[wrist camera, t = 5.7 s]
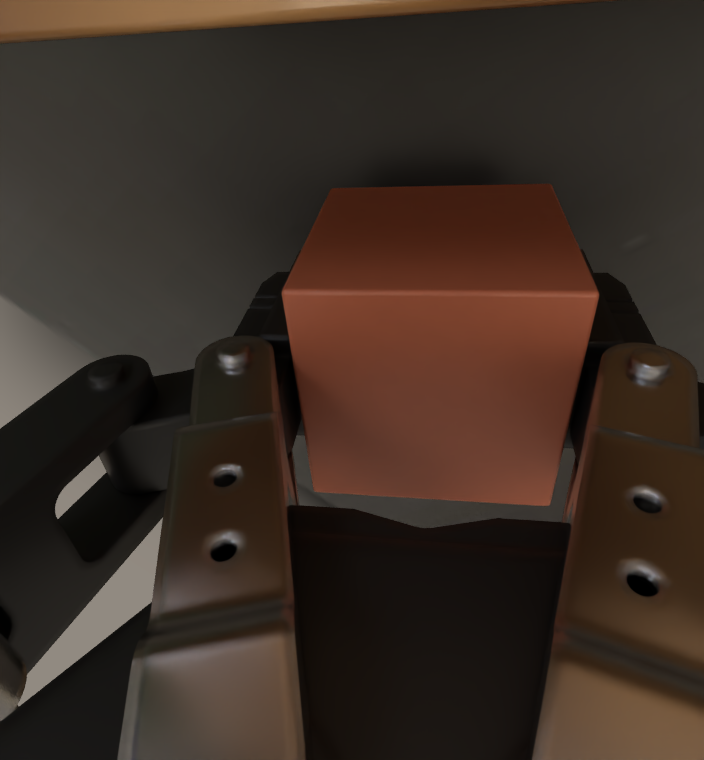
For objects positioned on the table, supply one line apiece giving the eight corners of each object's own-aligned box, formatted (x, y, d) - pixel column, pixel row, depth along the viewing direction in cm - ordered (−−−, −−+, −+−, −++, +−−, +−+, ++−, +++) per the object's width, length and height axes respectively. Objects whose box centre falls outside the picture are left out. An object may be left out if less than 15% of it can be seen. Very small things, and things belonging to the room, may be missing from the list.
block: (345, 360, 14) (312, 493, 11) (329, 187, 11) (279, 291, 8) (524, 364, 13) (550, 508, 10) (552, 182, 11) (602, 293, 7)
